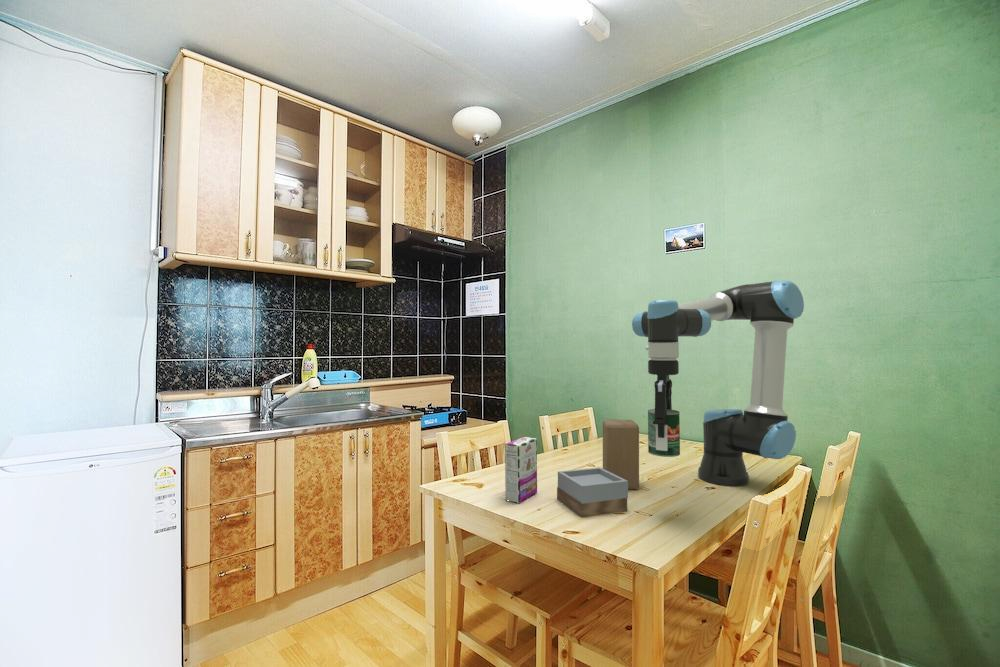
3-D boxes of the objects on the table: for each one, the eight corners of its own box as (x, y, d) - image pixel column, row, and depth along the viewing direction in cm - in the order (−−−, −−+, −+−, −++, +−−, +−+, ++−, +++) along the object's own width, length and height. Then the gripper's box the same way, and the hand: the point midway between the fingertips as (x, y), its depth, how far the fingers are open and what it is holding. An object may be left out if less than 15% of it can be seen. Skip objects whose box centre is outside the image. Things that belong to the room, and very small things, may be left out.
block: (633, 480, 149) (633, 419, 149) (639, 490, 139) (639, 424, 139) (602, 479, 150) (602, 418, 150) (606, 489, 140) (606, 424, 140)
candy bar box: (523, 490, 139) (523, 436, 139) (537, 493, 136) (537, 438, 137) (503, 500, 129) (504, 443, 130) (519, 504, 127) (519, 445, 127)
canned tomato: (656, 448, 124) (656, 407, 125) (685, 453, 119) (684, 410, 119) (642, 453, 119) (642, 411, 119) (671, 458, 113) (671, 414, 113)
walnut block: (599, 496, 135) (599, 482, 135) (627, 513, 122) (627, 498, 122) (557, 501, 131) (557, 487, 131) (580, 519, 118) (580, 503, 118)
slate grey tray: (600, 482, 136) (600, 467, 136) (628, 497, 122) (628, 480, 122) (557, 487, 131) (557, 471, 131) (582, 503, 118) (582, 486, 118)
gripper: (654, 357, 130) (654, 437, 130) (641, 360, 112) (642, 454, 111) (682, 357, 127) (682, 439, 126) (674, 361, 108) (674, 457, 108)
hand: (663, 446), depth 119 cm, fingers closed on canned tomato, 8 cm apart
